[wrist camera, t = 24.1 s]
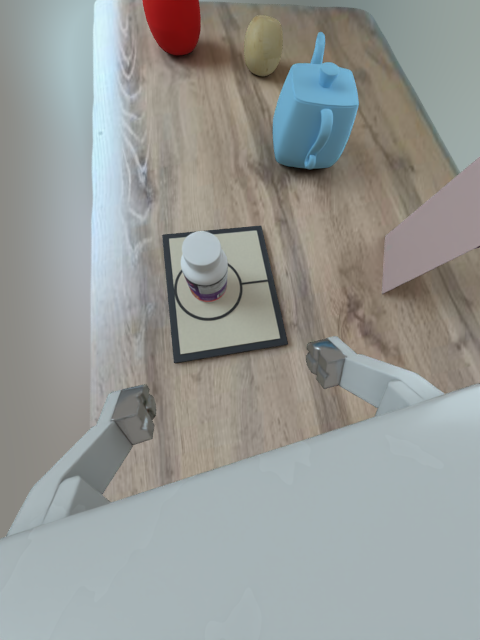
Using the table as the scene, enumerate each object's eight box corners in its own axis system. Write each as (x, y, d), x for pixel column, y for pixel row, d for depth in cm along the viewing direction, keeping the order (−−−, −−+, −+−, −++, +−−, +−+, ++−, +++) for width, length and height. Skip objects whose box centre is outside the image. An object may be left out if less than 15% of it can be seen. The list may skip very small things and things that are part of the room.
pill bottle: (186, 274, 30) (169, 229, 21) (221, 266, 31) (221, 220, 21) (194, 307, 29) (180, 276, 20) (230, 299, 30) (234, 265, 20)
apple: (241, 79, 43) (236, 14, 37) (251, 80, 48) (248, 24, 42) (278, 71, 41) (279, 1, 35) (284, 73, 46) (286, 13, 40)
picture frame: (175, 363, 28) (173, 363, 27) (163, 237, 33) (161, 233, 32) (286, 344, 30) (288, 343, 29) (260, 228, 34) (261, 224, 33)
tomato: (206, 65, 44) (200, -31, 33) (155, 66, 42) (133, -33, 32) (198, 35, 46) (191, -64, 36) (150, 35, 45) (128, -67, 34)
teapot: (325, 117, 43) (361, 27, 32) (336, 185, 38) (382, 109, 27) (267, 111, 42) (283, 17, 31) (271, 181, 37) (291, 100, 26)
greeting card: (386, 298, 33) (513, 239, 19) (352, 265, 34) (448, 187, 20) (424, 258, 36) (562, 180, 21) (391, 229, 37) (502, 136, 22)
